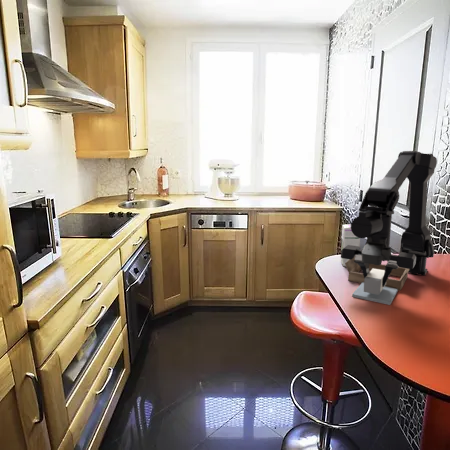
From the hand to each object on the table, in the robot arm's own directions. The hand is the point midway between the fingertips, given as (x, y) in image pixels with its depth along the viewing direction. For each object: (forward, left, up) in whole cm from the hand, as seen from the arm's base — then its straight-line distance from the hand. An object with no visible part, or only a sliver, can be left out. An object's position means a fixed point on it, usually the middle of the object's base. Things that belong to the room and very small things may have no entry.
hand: (375, 284), depth 98 cm
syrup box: (-24, -14, -4) cm, 28 cm away
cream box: (-1, 0, -1) cm, 2 cm away
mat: (-1, 0, -3) cm, 4 cm away
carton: (-14, -2, -3) cm, 15 cm away
